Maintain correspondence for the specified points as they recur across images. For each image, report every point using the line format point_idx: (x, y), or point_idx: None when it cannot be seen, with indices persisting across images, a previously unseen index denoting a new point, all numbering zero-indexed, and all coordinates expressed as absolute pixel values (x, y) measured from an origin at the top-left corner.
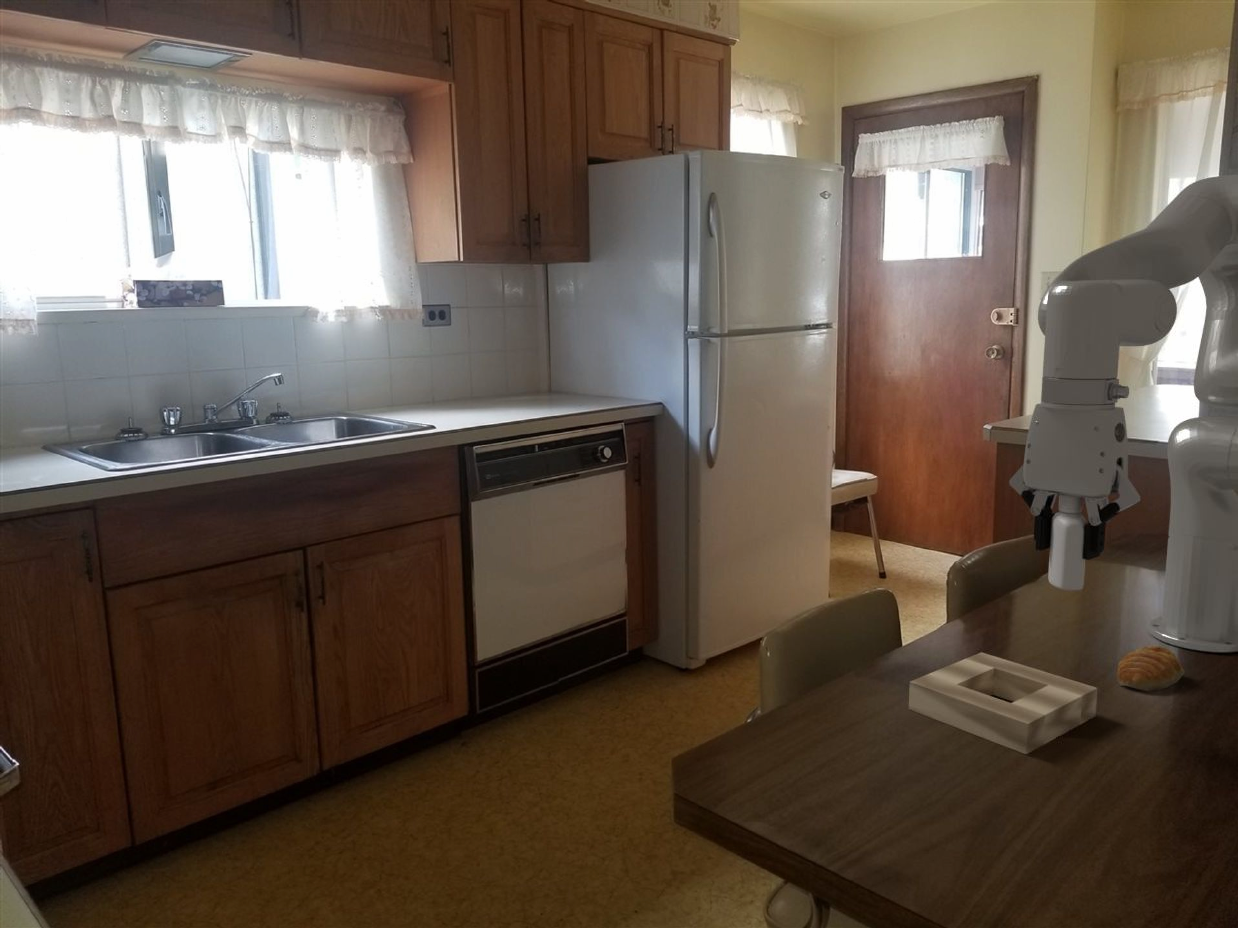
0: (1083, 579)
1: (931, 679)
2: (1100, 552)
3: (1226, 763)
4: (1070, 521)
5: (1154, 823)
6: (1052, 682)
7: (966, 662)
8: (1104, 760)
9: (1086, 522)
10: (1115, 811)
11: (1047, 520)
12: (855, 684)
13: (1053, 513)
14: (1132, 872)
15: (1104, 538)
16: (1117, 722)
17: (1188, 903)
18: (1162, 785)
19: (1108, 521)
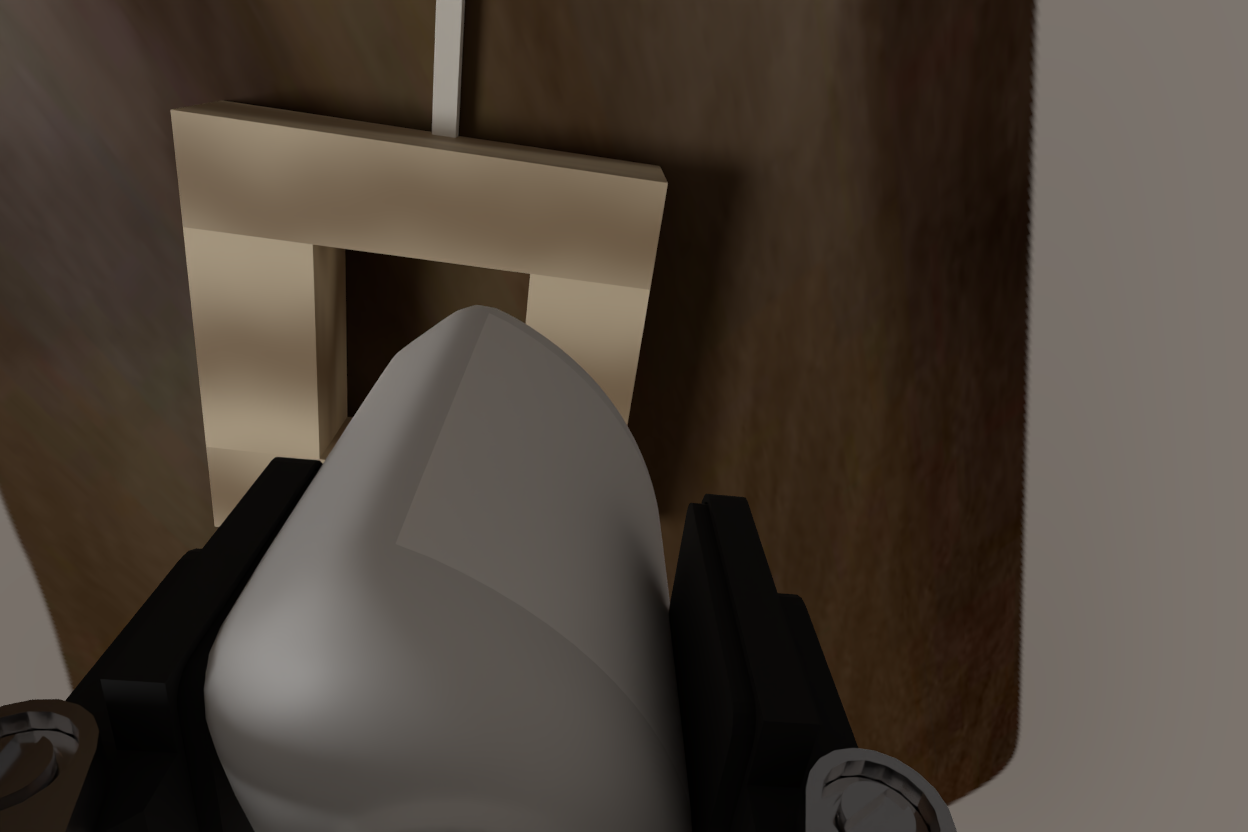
0: (660, 528)
1: (244, 473)
2: (745, 499)
3: (1026, 244)
4: None
5: (899, 610)
6: (529, 241)
7: (212, 261)
8: (759, 429)
9: (668, 825)
10: (830, 614)
11: (240, 809)
12: (23, 430)
13: (150, 697)
14: (888, 750)
15: (822, 661)
16: (726, 165)
17: (968, 768)
18: (895, 462)
19: (901, 778)
